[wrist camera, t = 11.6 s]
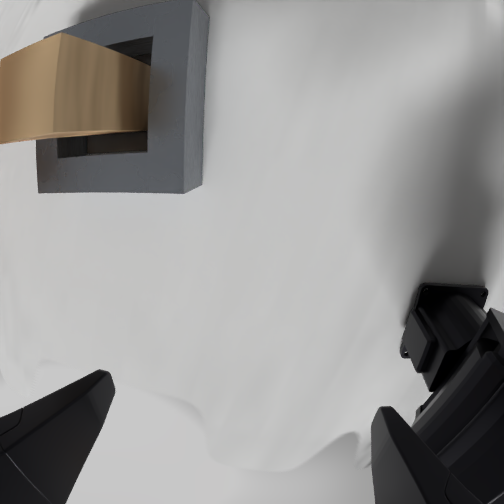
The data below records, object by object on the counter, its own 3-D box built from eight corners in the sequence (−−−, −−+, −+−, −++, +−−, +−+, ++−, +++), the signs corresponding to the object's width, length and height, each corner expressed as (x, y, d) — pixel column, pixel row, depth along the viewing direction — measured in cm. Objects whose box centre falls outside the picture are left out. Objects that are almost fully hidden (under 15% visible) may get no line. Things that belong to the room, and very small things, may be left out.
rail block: (209, 17, 16) (193, -3, 13) (202, 184, 20) (183, 193, 17) (72, 44, 17) (43, 37, 14) (67, 184, 21) (38, 193, 18)
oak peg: (157, 68, 18) (61, 32, 8) (154, 130, 19) (53, 132, 10) (103, 77, 18) (0, 59, 9) (101, 134, 20) (-5, 145, 10)
